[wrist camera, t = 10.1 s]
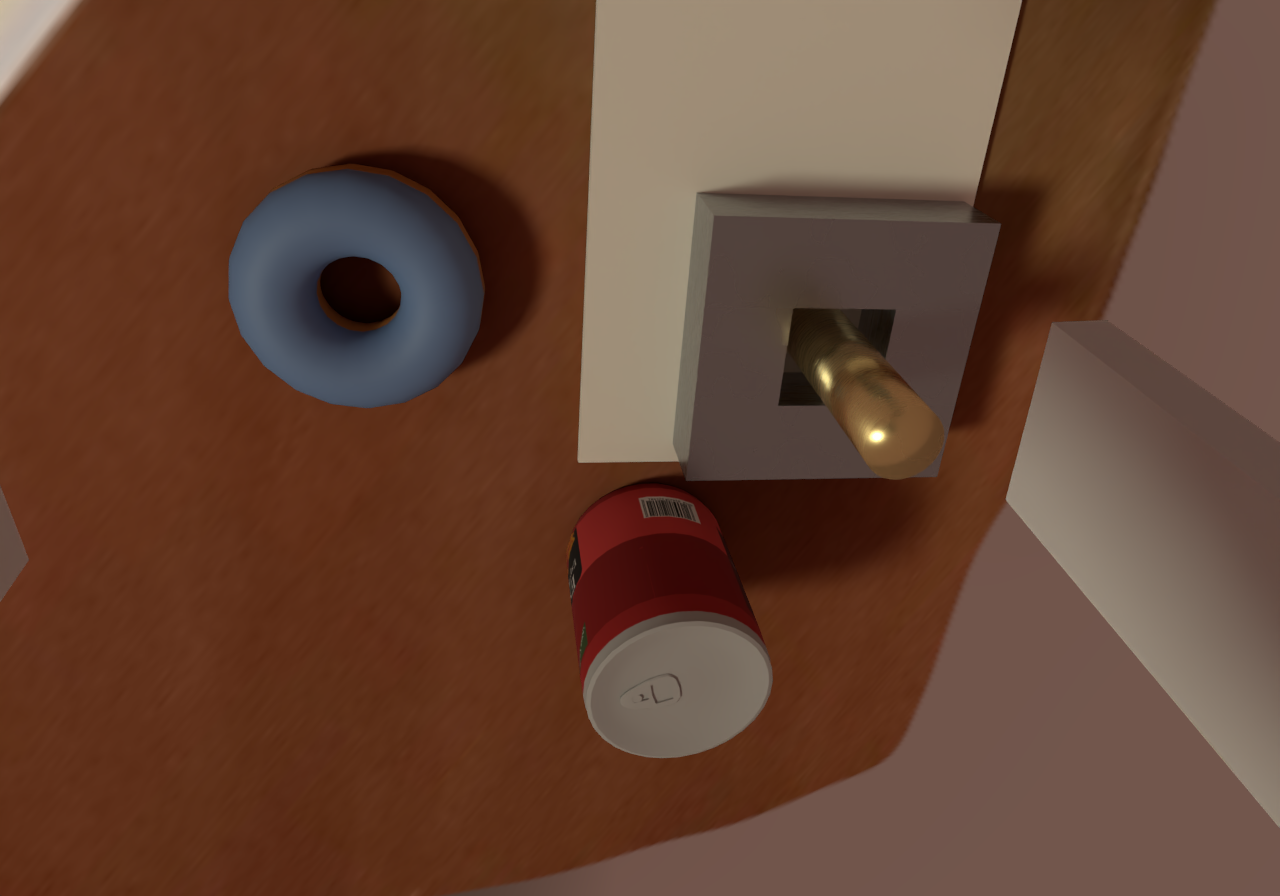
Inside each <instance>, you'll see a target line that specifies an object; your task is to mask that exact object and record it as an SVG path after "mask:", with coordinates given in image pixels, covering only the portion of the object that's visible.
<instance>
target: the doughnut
mask: <svg viewBox="0 0 1280 896" xmlns="http://www.w3.org/2000/svg"><path fill="white" fill-rule="evenodd" d="M352 256H356V257H362V258H368V259H370V260H373V261H375V262H377V263H379V264H381V265H382V266H384V267H385V268H386V269H387V270H388V271H389V272H390V273H392V275H393V276H394V278H395V279H396V281H397V283H398V284H399V286H400V290H401V304H400V307H399V309H398V310H397V311H396V312H395V313H394V314H393V315H392V316H390V317H388V318H386V319H384V320H382V321H380V322H373V323H361V322H354V321H351V320H349V319H347V318H345V317H342V316H341V315H339V314H338V313H337V312H336V311H335V310H333V309H332V308H331V307H330V305H329V304H328V302H327V301H326V300H325V298H324V297H323V293H322V290H321V286H320V279H321V274H322V272H323V270H324V268H325V267H326V266H327V265H328V264H329V263H331V262H333V261H335V260H337V259H339V258H345V257H352ZM484 294H485V284H484V279H483V274H482V269H481V264H480V259H479V254H478V251H477V249H476V247H475V245H474V244H473V242H472V240H471V238H470V237H469V235H468V233H467V231H466V230H465V228H464V226H463V224H462V222H461V221H460V219H459V217H458V216H457V215H456V214H455V213H454V212H453V211H452V210H451V209H450V208H449V207H448V206H447V205H446V204H445V203H444V202H443V201H442V200H440V199H439V198H438V197H437V196H436V195H435V194H434V193H433V192H432V191H431V190H430V189H429V188H427V187H425V186H423V185H421V184H419V183H417V182H415V181H413V180H411V179H409V178H407V177H405V176H403V175H401V174H399V173H397V172H395V171H393V170H388V169H382V168H376V167H370V166H364V165H358V164H353V163H351V164H344V165H337V166H330V167H323V168H316V169H311V170H308V171H306V172H304V173H302V174H300V175H298V176H296V177H294V178H293V179H291V180H289V181H287V182H285V183H283V184H281V185H279V186H277V187H275V188H273V189H272V191H271V192H270V193H269V194H268V195H267V196H266V197H265V198H264V199H263V200H262V201H261V203H260V204H259V205H258V206H257V207H256V208H255V209H254V210H253V211H252V212H251V213H250V215H249V216H248V217H247V218H246V219H245V220H244V222H243V224H242V227H241V229H240V232H239V234H238V237H237V240H236V242H235V245H234V247H233V250H232V252H231V255H230V259H229V301H230V304H231V307H232V310H233V313H234V315H235V318H236V321H237V324H238V327H239V330H240V333H241V335H242V337H243V338H244V339H245V341H246V342H247V343H248V345H249V346H250V347H251V349H252V350H253V351H254V353H255V354H256V355H257V357H258V358H259V359H260V361H261V362H262V363H263V365H264V366H265V367H266V368H268V369H269V370H270V371H272V372H273V373H274V374H276V375H277V376H278V377H280V378H281V379H282V380H284V381H285V382H286V383H288V384H289V385H290V386H292V387H293V388H294V389H296V390H298V391H300V392H303V393H305V394H308V395H310V396H313V397H315V398H318V399H320V400H323V401H325V402H328V403H330V404H337V405H345V406H354V407H363V408H373V407H379V406H385V405H391V404H398V403H404V402H407V401H409V400H411V399H413V398H415V397H417V396H419V395H421V394H423V393H425V392H427V391H430V390H432V389H434V388H436V387H437V386H438V385H439V384H441V383H442V382H443V381H444V380H445V379H446V378H447V377H448V376H449V375H450V374H451V373H452V372H453V371H454V370H455V369H456V368H457V367H458V366H459V365H460V364H461V363H462V362H463V360H464V358H465V356H466V354H467V352H468V350H469V348H470V346H471V344H472V342H473V340H474V338H475V336H476V335H477V333H478V330H479V327H480V323H481V316H482V309H483V302H484Z"/></svg>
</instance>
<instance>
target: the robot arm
mask: <svg viewBox="0 0 1280 896" xmlns="http://www.w3.org/2000/svg"><path fill="white" fill-rule="evenodd" d="M1006 501H1007V502H1008V503H1009V504H1010V506H1011V507H1012V508H1013V509H1014V510H1015V512H1016V513H1017V514H1018V515H1019V516H1020V518H1021V519H1022V520H1023V521H1024V522H1025V524H1026V525H1027V526H1028V527H1029V528H1030V530H1032V532H1033V533H1034V534H1035V536H1036V537H1037V538H1038V539H1039V540H1040V542H1041V543H1042V544H1043V545H1044V546H1045V547H1046V549H1047V550H1048V551H1049V552H1050V554H1051V555H1052V556H1053V557H1054V558H1055V559H1056V560H1057V562H1058V563H1059V564H1060V565H1061V567H1062V568H1063V569H1064V570H1065V571H1066V573H1067V574H1068V575H1069V576H1070V577H1071V579H1072V580H1073V581H1074V582H1075V583H1076V585H1077V586H1078V587H1079V588H1080V589H1081V590H1082V592H1083V593H1084V594H1085V595H1086V597H1087V598H1088V599H1089V600H1090V601H1091V602H1092V604H1093V605H1094V606H1095V607H1096V609H1098V611H1099V612H1100V613H1101V614H1102V616H1103V617H1104V618H1105V619H1106V621H1107V622H1108V623H1109V624H1110V625H1111V627H1112V628H1113V629H1114V630H1115V631H1116V633H1117V634H1118V635H1119V636H1120V637H1121V638H1122V639H1123V641H1124V642H1125V643H1126V644H1127V645H1128V647H1129V648H1130V649H1131V650H1132V652H1133V653H1134V654H1135V655H1136V656H1137V658H1138V659H1139V660H1140V661H1141V662H1142V664H1143V665H1144V666H1145V667H1146V668H1147V670H1148V671H1149V672H1150V673H1151V674H1152V675H1153V677H1154V678H1155V679H1156V680H1157V682H1158V683H1159V684H1160V685H1161V686H1162V688H1164V690H1165V691H1166V692H1167V694H1168V695H1169V696H1170V697H1171V698H1172V700H1173V701H1174V702H1175V703H1176V704H1177V705H1178V707H1179V708H1180V709H1181V710H1182V711H1183V713H1184V714H1185V715H1186V716H1187V717H1188V719H1189V720H1190V721H1191V722H1192V723H1193V724H1194V726H1195V727H1196V728H1197V729H1198V731H1199V732H1200V733H1201V734H1202V735H1203V737H1204V738H1205V739H1206V740H1207V741H1208V743H1209V744H1210V745H1211V746H1212V747H1213V749H1214V750H1215V751H1216V752H1217V753H1218V754H1219V756H1220V757H1221V758H1222V759H1223V761H1224V762H1225V763H1226V764H1227V765H1228V767H1229V768H1230V769H1231V770H1232V771H1233V773H1234V774H1235V775H1236V776H1237V777H1238V779H1239V780H1240V781H1241V782H1242V783H1243V785H1244V786H1245V787H1246V788H1247V789H1248V790H1249V792H1250V793H1251V794H1252V795H1253V796H1254V798H1255V799H1256V800H1257V801H1258V802H1259V804H1260V805H1261V806H1262V807H1263V808H1264V810H1265V811H1266V812H1267V813H1268V814H1269V816H1270V817H1271V818H1272V819H1273V820H1274V822H1275V823H1276V824H1277V825H1278V826H1279V828H1280V442H1278V441H1277V440H1276V439H1274V438H1273V437H1271V436H1270V435H1269V434H1267V433H1266V432H1264V431H1263V430H1262V429H1260V428H1259V427H1257V426H1256V425H1254V424H1253V423H1252V422H1250V421H1249V420H1247V419H1246V418H1244V417H1243V416H1242V415H1240V414H1239V413H1237V412H1236V411H1235V410H1233V409H1232V408H1230V407H1229V406H1227V405H1226V404H1225V403H1223V402H1222V401H1221V400H1219V399H1217V398H1216V397H1215V396H1213V395H1212V394H1211V393H1209V392H1208V391H1206V390H1205V389H1203V388H1202V387H1201V386H1199V385H1198V384H1197V383H1195V382H1194V381H1192V380H1191V379H1189V378H1188V377H1187V376H1185V375H1184V374H1182V373H1181V372H1180V371H1178V370H1177V369H1175V368H1174V367H1172V366H1171V365H1170V364H1168V363H1167V362H1165V361H1164V360H1162V359H1161V358H1160V357H1158V356H1157V355H1155V354H1154V353H1153V352H1151V351H1150V350H1149V349H1147V348H1146V347H1144V346H1143V345H1141V344H1140V343H1139V342H1137V341H1136V340H1134V339H1133V338H1131V337H1130V336H1129V335H1127V334H1126V333H1124V332H1123V331H1122V330H1120V329H1119V328H1117V327H1116V326H1115V325H1113V324H1112V323H1110V322H1109V321H1108V320H1100V321H1073V322H1052V325H1051V329H1050V332H1049V336H1048V340H1047V344H1046V348H1045V351H1044V355H1043V359H1042V363H1041V367H1040V371H1039V374H1038V378H1037V382H1036V386H1035V390H1034V393H1033V397H1032V401H1031V405H1030V409H1029V413H1028V416H1027V420H1026V424H1025V428H1024V432H1023V435H1022V439H1021V443H1020V447H1019V451H1018V455H1017V458H1016V462H1015V466H1014V470H1013V474H1012V477H1011V481H1010V485H1009V489H1008V493H1007V497H1006ZM28 560H29V559H28V556H27V554H26V551H25V549H24V546H23V543H22V541H21V538H20V536H19V533H18V530H17V528H16V525H15V523H14V520H13V518H12V515H11V512H10V510H9V507H8V505H7V502H6V499H5V497H4V494H3V492H2V489H1V487H0V601H1V600H2V598H3V597H4V595H5V594H6V593H7V591H8V590H9V588H10V587H11V585H12V584H13V582H14V581H15V579H16V578H17V576H18V575H19V574H20V572H21V571H22V569H23V568H24V566H25V565H26V563H27V562H28Z"/></svg>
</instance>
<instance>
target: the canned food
mask: <svg viewBox="0 0 1280 896" xmlns="http://www.w3.org/2000/svg"><path fill="white" fill-rule="evenodd" d="M566 562H567V570H568V579H569V587H570V595H571V604H572V612H573V620H574V629H575V637H576V645H577V654H578V662H579V670H580V678H581V683H582V690H583V697H584V702H585V707H586V710H587V712H588V717H589V719H590V721H591V723H592V725H593V727H594V729H595V730H596V731H597V732H598V733H599V735H600V736H601V737H602V738H603V739H604V740H606V741H607V742H609V743H610V744H612V745H613V746H614V747H616V748H619V749H621V750H623V751H626V752H628V753H631V754H635V755H640V756H644V757H655V758H670V757H681V756H686V755H691V754H697V753H699V752H702V751H705V750H708V749H711V748H714V747H716V746H718V745H720V744H722V743H724V742H726V741H728V740H730V739H731V738H733V737H734V736H736V735H737V734H739V733H740V732H741V731H743V730H744V729H745V728H746V727H747V726H748V725H749V724H750V723H751V722H752V721H754V720H755V718H756V717H757V716H758V714H759V713H760V712H761V710H762V709H763V708H764V706H765V703H766V701H767V699H768V697H769V695H770V691H771V686H772V682H773V680H772V667H771V664H770V657H769V655H768V652H767V649H766V646H765V643H764V640H763V638H762V635H761V632H760V629H759V626H758V624H757V621H756V619H755V616H754V614H753V611H752V609H751V606H750V603H749V601H748V598H747V596H746V593H745V591H744V588H743V586H742V583H741V581H740V578H739V576H738V573H737V570H736V568H735V565H734V563H733V560H732V558H731V555H730V553H729V550H728V548H727V545H726V543H725V540H724V537H723V535H722V532H721V530H720V527H719V525H718V522H717V520H716V519H715V517H714V516H713V514H712V513H711V511H710V510H709V509H708V508H707V507H706V506H705V505H704V504H703V503H701V502H700V501H699V500H698V499H697V498H696V497H694V496H693V495H691V494H689V493H688V492H686V491H684V490H682V489H679V488H676V487H673V486H670V485H664V484H657V483H652V484H637V485H632V486H627V487H624V488H621V489H618V490H615V491H613V492H611V493H609V494H607V495H605V496H604V497H602V498H600V499H599V500H598V501H596V502H595V503H594V504H592V505H591V506H590V507H589V508H588V509H587V510H586V511H585V512H584V514H583V515H582V516H581V517H580V519H579V521H578V522H577V524H576V526H575V527H574V530H573V532H572V535H571V538H570V541H569V544H568V547H567V558H566Z"/></svg>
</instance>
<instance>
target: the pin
mask: <svg viewBox="0 0 1280 896" xmlns="http://www.w3.org/2000/svg"><path fill="white" fill-rule="evenodd" d="M787 351H788V353H789V354H790V356H791V357H792V359H793V360H794V361H795V363H796V364H797V366H798V367H799V368H800V370H801V371H802V373H803V374H804V376H805V377H806V378H807V380H808V381H809V383H810V384H811V386H812V387H813V388H814V390H815V391H816V393H817V394H818V395H819V397H820V398H821V400H822V401H823V403H824V404H825V405H826V407H827V408H828V410H829V411H830V413H831V414H832V415H833V417H834V418H835V420H836V421H837V422H838V424H839V425H840V427H841V428H842V430H843V431H844V432H845V434H846V435H847V437H848V438H849V440H850V441H851V442H852V444H853V445H854V447H855V448H856V449H857V451H858V452H859V454H860V455H861V457H862V458H863V459H864V461H865V462H866V464H867V465H868V466H869V468H870V469H871V470H872V471H873V472H874V473H875V474H877V475H878V476H880V477H883V478H886V479H894V480H897V479H905V478H909V477H912V476H914V475H916V474H918V473H920V472H922V471H923V470H925V469H926V468H927V467H928V466H930V465H931V464H932V463H933V461H934V460H935V459H936V458H937V456H938V455H939V453H940V451H941V449H942V446H943V442H944V428H943V425H942V422H941V421H940V419H939V418H938V416H937V415H936V414H935V413H934V412H933V411H932V410H931V409H930V408H929V407H928V405H927V404H926V403H925V402H924V401H923V400H922V399H921V398H920V397H919V396H918V394H917V393H916V392H915V391H914V390H913V389H912V388H911V387H910V386H909V385H908V383H907V382H906V381H905V380H904V379H903V378H902V377H901V376H900V375H899V374H898V373H897V371H896V370H895V369H894V368H893V367H892V366H891V365H890V364H889V363H888V362H887V360H886V359H885V358H884V357H883V356H882V355H881V354H880V353H879V352H878V351H877V349H876V348H875V347H874V346H873V345H872V344H871V343H870V342H869V341H868V340H867V338H866V337H865V336H864V335H863V334H862V333H861V332H860V331H859V330H858V329H857V327H856V326H855V325H854V324H853V323H852V322H851V321H850V320H849V319H848V318H847V316H846V315H845V314H844V313H843V312H842V311H841V310H840V309H819V308H793V312H792V319H791V325H790V332H789V338H788V345H787Z"/></svg>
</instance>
